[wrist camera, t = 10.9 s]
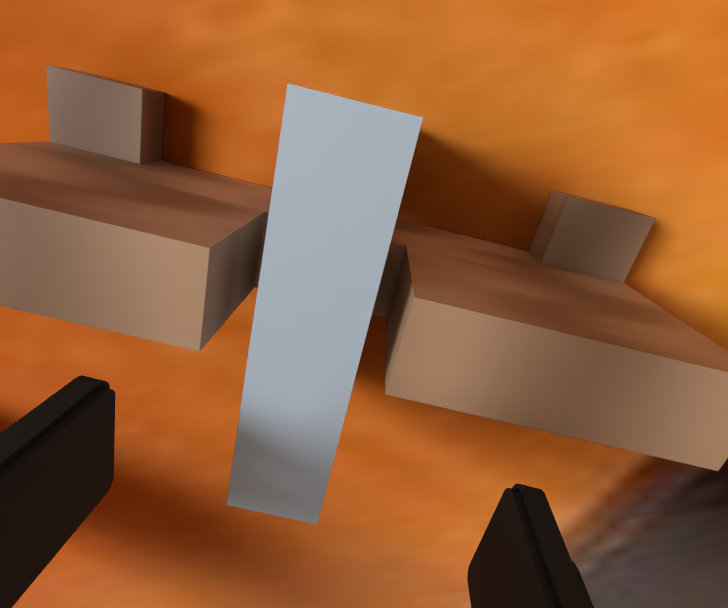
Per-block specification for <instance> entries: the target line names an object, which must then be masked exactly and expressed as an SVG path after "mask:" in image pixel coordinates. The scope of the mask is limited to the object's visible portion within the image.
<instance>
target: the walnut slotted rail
mask: <svg viewBox="0 0 728 608" xmlns="http://www.w3.org/2000/svg"><path fill="white" fill-rule="evenodd" d="M47 84H48V108H49V131H50V142H30V143H3V144H0V306H4V307H8V308H13V309H17V310H21V311H26V312H30V313H34V314H39V315H43V316H47V317H52V318H56V319H60V320H65V321H69V322H73V323H78V324H82V325H86V326H91V327H95V328H99V329H104V330H108V331H112V332H117V333H121V334H125V335H130V336H134V337H139V338H143V339H147V340H152V341H156V342H160V343H165V344H169V345H173V346H178V347H182V348H186V349H191V350H195V351H199V352H200V350H201V349H202V348H203V347H204V346H205V345H206V343H207V342H208V341H209V340H210V339H211V338H212V336H213V335H214V334H215V333H216V332H217V330H218V329H219V328H220V327H221V326H222V325H223V323H224V322H225V321H226V320H227V319H228V318H229V316H230V315H231V314H232V313H233V312H234V311H235V309H236V308H237V307H238V306H239V305H240V303H241V302H242V301H243V300H244V299H245V298H246V296H247V295H248V294H249V293H250V292H251V291H252V289H253V288H254V287H257V288H258V284H259V278H260V271H261V264H262V257H263V250H264V243H265V236H266V230H267V223H268V216H269V209H270V202H271V195H272V188H270V187H266V186H262V185H258V184H254V183H250V182H246V181H242V180H238V179H234V178H230V177H226V176H222V175H217V174H213V173H209V172H205V171H201V170H197V169H193V168H189V167H185V166H181V165H177V164H173V163H169V162H165V161H162V145H163V125H164V106H165V93H164V92H160V91H156V90H152V89H148V88H144V87H140V86H136V85H133V84H129V83H125V82H121V81H117V80H113V79H109V78H105V77H101V76H97V75H93V74H89V73H85V72H81V71H76V70H71V69H66V68H60V67H55V66H50V65H47ZM654 220H655V218H653V217H650V216H647V215H644V214H641V213H638V212H635V211H632V210H628V209H624V208H620V207H616V206H612V205H608V204H604V203H600V202H596V201H592V200H588V199H584V198H580V197H576V196H572V195H568V194H564V193H560V192H556V191H553V190H552V192H551V195H550V197H549V200H548V202H547V205H546V207H545V210H544V213H543V215H542V218H541V220H540V223H539V225H538V228H537V230H536V233H535V235H534V238H533V241H532V243H531V246H530V248H529V251H526V250H522V249H518V248H514V247H510V246H506V245H502V244H498V243H493V242H489V241H485V240H481V239H477V238H473V237H469V236H465V235H461V234H457V233H453V232H449V231H445V230H441V229H437V228H433V227H429V226H424V225H420V224H416V223H412V222H408V221H404V220H400V219H396V223H395V227H394V231H393V235H392V239H391V242H390V246H389V250H388V254H387V258H386V262H385V266H384V269H383V273H382V277H381V281H380V285H379V289H378V292H377V296H376V300H375V304H374V308H373V312H372V315H375V316H379V317H383V318H386V364H385V394H386V395H390V396H394V397H399V398H403V399H407V400H412V401H416V402H421V403H425V404H429V405H434V406H438V407H442V408H447V409H451V410H455V411H460V412H464V413H468V414H473V415H477V416H481V417H486V418H490V419H494V420H499V421H503V422H507V423H512V424H516V425H520V426H525V427H529V428H533V429H538V430H542V431H546V432H551V433H555V434H559V435H564V436H568V437H572V438H577V439H581V440H585V441H590V442H594V443H598V444H603V445H607V446H611V447H616V448H620V449H624V450H629V451H633V452H637V453H642V454H646V455H650V456H655V457H659V458H663V459H668V460H672V461H676V462H681V463H685V464H689V465H694V466H698V467H703V468H707V469H711V470H716V471H719V469H720V468H721V466H722V465H723V464H724V462H725V461H726V459H727V458H728V351H727V350H726V349H724V348H723V347H721V346H720V345H718V344H717V343H715V342H714V341H712V340H711V339H709V338H707V337H706V336H704V335H703V334H701V333H700V332H698V331H697V330H695V329H694V328H692V327H691V326H689V325H688V324H686V323H685V322H683V321H681V320H680V319H678V318H677V317H675V316H674V315H672V314H671V313H669V312H668V311H666V310H665V309H663V308H662V307H660V306H659V305H657V304H656V303H654V302H652V301H651V300H649V299H648V298H646V297H645V296H643V295H642V294H640V293H639V292H637V291H636V290H634V289H633V288H631V287H630V286H628V285H626V284H625V283H624V281H625V279H626V277H627V275H628V273H629V271H630V269H631V267H632V265H633V263H634V261H635V259H636V257H637V255H638V253H639V251H640V249H641V247H642V245H643V243H644V241H645V239H646V237H647V235H648V233H649V231H650V229H651V227H652V225H653V223H654Z"/></svg>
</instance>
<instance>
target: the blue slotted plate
mask: <svg viewBox="0 0 728 608" xmlns="http://www.w3.org/2000/svg"><path fill="white" fill-rule="evenodd" d="M422 120H423V117H419V116H415V115H411V114H407V113H403V112H399V111H395V110H391V109H387V108H383V107H379V106H375V105H371V104H367V103H363V102H359V101H355V100H351V99H347V98H343V97H339V96H336V95H332V94H328V93H324V92H320V91H316V90H312V89H308V88H304V87H300V86H296V85H292V84H288V85H287V92H286V99H285V106H284V113H283V120H282V127H281V133H280V140H279V147H278V154H277V161H276V168H275V175H274V182H273V188H272V195H271V202H270V209H269V216H268V223H267V230H266V236H265V243H264V250H263V257H262V264H261V271H260V278H259V284H258V291H257V298H256V305H255V312H254V319H253V326H252V333H251V339H250V346H249V353H248V360H247V367H246V374H245V381H244V387H243V394H242V401H241V408H240V415H239V422H238V429H237V435H236V442H235V449H234V456H233V463H232V470H231V477H230V484H229V490H228V497H227V504H226V505H229V506H234V507H238V508H243V509H248V510H252V511H257V512H261V513H266V514H271V515H275V516H280V517H285V518H289V519H294V520H299V521H303V522H308V523H312V524H317V522H318V519H319V515H320V511H321V507H322V503H323V499H324V496H325V492H326V488H327V484H328V480H329V476H330V473H331V469H332V465H333V461H334V457H335V453H336V450H337V446H338V442H339V438H340V434H341V430H342V427H343V423H344V419H345V415H346V411H347V407H348V404H349V400H350V396H351V392H352V388H353V384H354V381H355V377H356V373H357V369H358V365H359V361H360V358H361V354H362V350H363V346H364V342H365V338H366V335H367V331H368V327H369V323H370V319H371V315H372V312H373V308H374V304H375V300H376V296H377V292H378V289H379V285H380V281H381V277H382V273H383V269H384V266H385V262H386V258H387V254H388V250H389V246H390V242H391V239H392V235H393V231H394V227H395V223H396V219H397V216H398V212H399V208H400V204H401V200H402V196H403V193H404V189H405V185H406V181H407V177H408V173H409V170H410V166H411V162H412V158H413V154H414V150H415V147H416V143H417V139H418V135H419V131H420V127H421V124H422Z"/></svg>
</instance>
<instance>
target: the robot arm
mask: <svg viewBox="0 0 728 608" xmlns="http://www.w3.org/2000/svg"><path fill="white" fill-rule="evenodd" d="M114 431H115V392H114V390H112V389H110V386H109V384H108V382H106V381H102V380H98V379H94V378H90V377H86V376H79V377H77V378H75V379H74V380H72V381H71V382H70V383H68V384H67V385H66V386H64V387H63V388H62V389H60V390H59V391H58V392H56V393H55V394H53V395H52V396H51V397H49V398H48V399H47V400H45V401H44V402H43V403H41V404H40V405H39V406H37V407H36V408H35V409H33V410H32V411H30V412H29V413H28V414H26V415H25V416H24V417H22V418H21V419H20V420H18V421H17V422H16V423H14V424H13V425H12V426H10V427H9V428H7V429H6V430H5V431H3V432H2V433H1V434H0V608H12V607H13V605H14V604H15V603H16V602H17V601H18V599H19V598H20V597H21V596H22V595H23V593H24V592H25V591H26V590H27V589H28V587H29V586H30V585H31V584H32V582H33V581H34V580H35V579H36V578H37V576H38V575H39V574H40V573H41V572H42V570H43V569H44V568H45V567H46V566H47V564H48V563H49V562H50V561H51V560H52V558H53V557H54V556H55V555H56V554H57V552H58V551H59V550H60V549H61V548H62V546H63V545H64V544H65V543H66V542H67V540H68V539H69V538H70V537H71V535H72V534H73V533H74V532H75V531H76V529H77V528H78V527H79V526H80V525H81V523H82V522H83V521H84V520H85V519H86V517H87V516H88V515H89V514H90V513H91V511H92V510H93V509H94V508H95V507H96V505H97V504H98V503H99V502H100V501H101V499H102V498H103V497H104V496H105V495H106V493H107V492H108V490H109V488H110V487H111V484H112V481H113V477H114ZM468 587H469V594H470V601H471V608H594V607H593V604H592V602H591V599H590V597H589V595H588V592H587V590H586V587H585V585H584V582H583V580H582V577H581V575H580V572H579V570H578V568H577V567H576V565H575V564H574V563H573V562H572V561H571V558H570V556H569V553H568V551H567V548H566V546H565V543H564V541H563V538H562V536H561V533H560V531H559V528H558V526H557V523H556V521H555V518H554V516H553V513H552V511H551V508H550V506H549V503H548V501H547V498H546V495H545V494H544V492H543V491H542V490H541V489H538V488H533V487H529V486H525V485H521V484H515V485H514V486H513V488H512V489H511V488H507V489H505V491H504V493H503V495H502V497H501V499H500V501H499V503H498V505H497V508H496V510H495V512H494V514H493V516H492V518H491V520H490V522H489V525H488V527H487V529H486V531H485V533H484V535H483V537H482V539H481V542H480V544H479V546H478V548H477V550H476V552H475V554H474V556H473V559H472V561H471V563H470V565H469V569H468Z"/></svg>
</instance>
